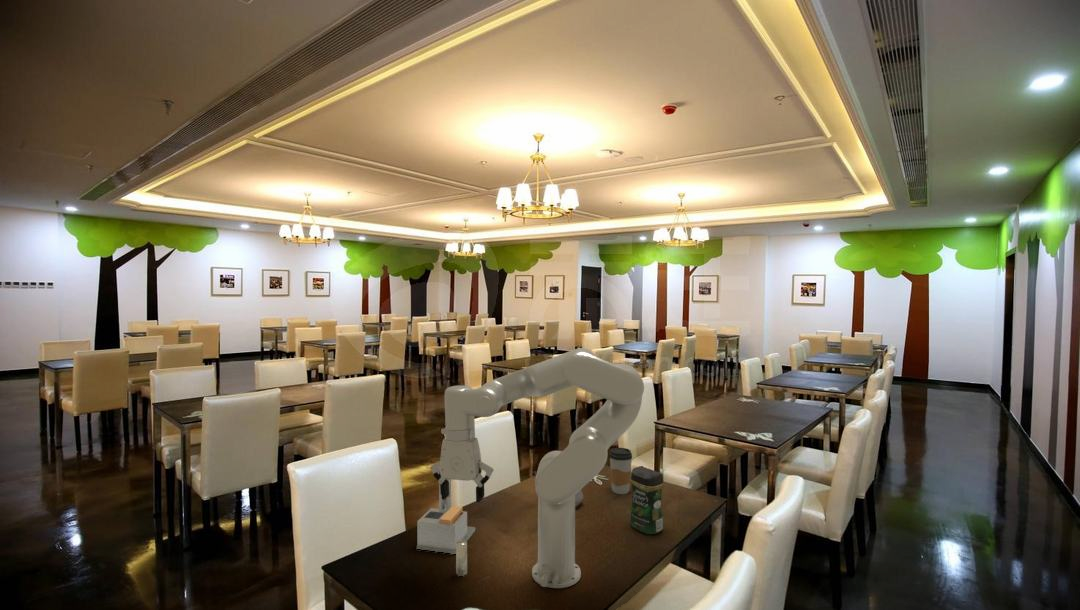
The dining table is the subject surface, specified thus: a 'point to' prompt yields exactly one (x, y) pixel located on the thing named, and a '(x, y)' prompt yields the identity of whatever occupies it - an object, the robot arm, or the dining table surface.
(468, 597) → the dining table surface
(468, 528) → the pole on box base
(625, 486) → the coffee cup
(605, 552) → the dining table surface
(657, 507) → the coffee jar
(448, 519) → the tan rectangular block
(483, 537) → the dining table surface
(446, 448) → the robot arm
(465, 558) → the pale grey cylinder
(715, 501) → the dining table surface
